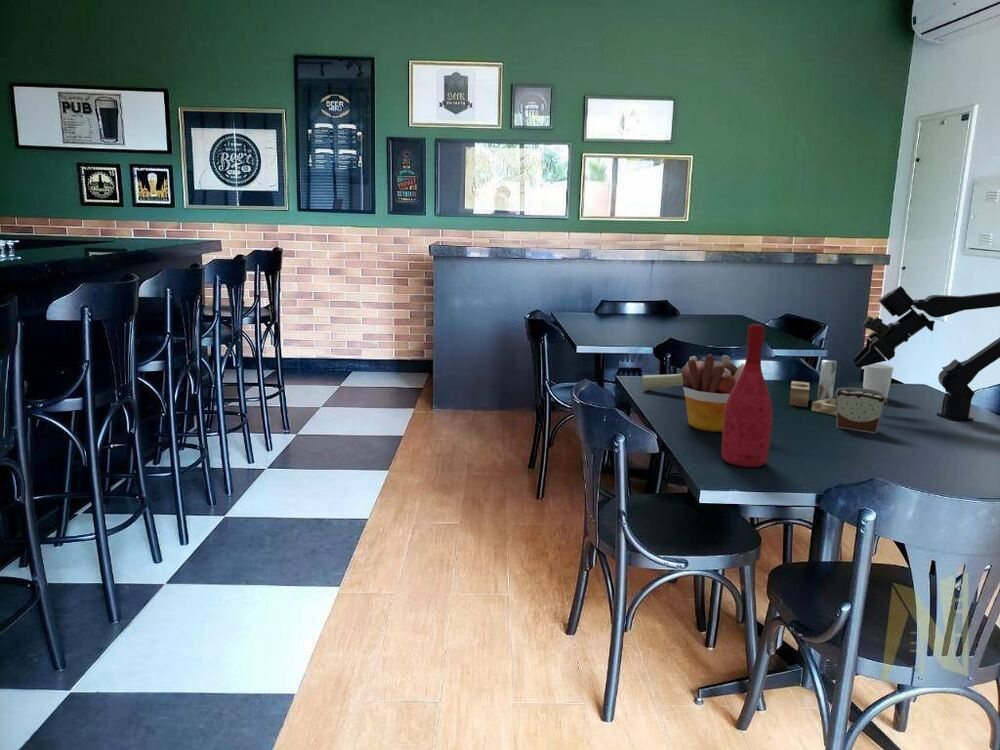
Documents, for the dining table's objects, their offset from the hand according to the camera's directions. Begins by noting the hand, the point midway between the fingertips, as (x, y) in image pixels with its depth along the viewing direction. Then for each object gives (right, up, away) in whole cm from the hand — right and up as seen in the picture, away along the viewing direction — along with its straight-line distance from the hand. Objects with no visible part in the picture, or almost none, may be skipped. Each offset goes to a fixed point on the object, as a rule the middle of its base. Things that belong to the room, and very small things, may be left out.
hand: (855, 363), depth 211 cm
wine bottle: (-49, -22, -52) cm, 75 cm away
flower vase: (-42, -10, +10) cm, 45 cm away
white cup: (+14, -10, +16) cm, 24 cm away
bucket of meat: (-48, -17, -24) cm, 56 cm away
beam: (-13, -11, +8) cm, 19 cm away
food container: (-9, -17, -21) cm, 28 cm away
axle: (-7, -12, +5) cm, 15 cm away
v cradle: (-10, -13, -4) cm, 17 cm away
